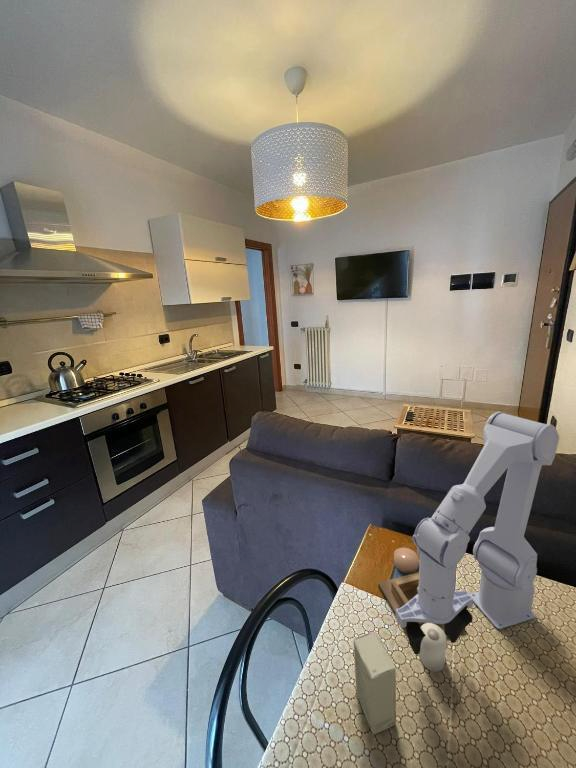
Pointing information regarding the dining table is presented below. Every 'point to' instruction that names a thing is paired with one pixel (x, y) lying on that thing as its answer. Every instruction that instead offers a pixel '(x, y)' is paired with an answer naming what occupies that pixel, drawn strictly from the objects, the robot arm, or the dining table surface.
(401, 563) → the tan oval ball
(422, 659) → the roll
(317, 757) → the dining table surface
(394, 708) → the skincare box
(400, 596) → the caddy
